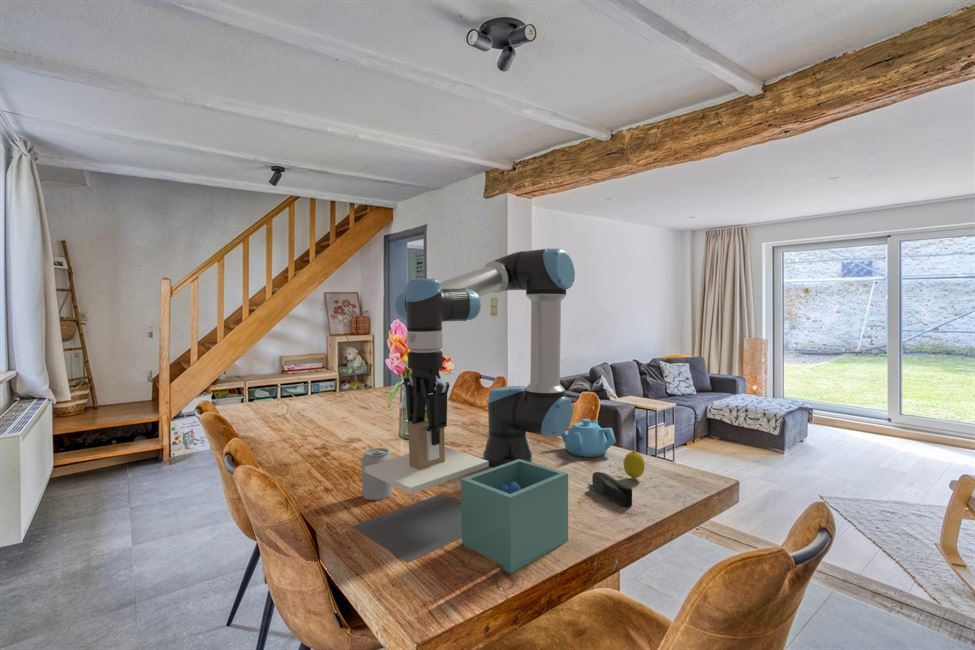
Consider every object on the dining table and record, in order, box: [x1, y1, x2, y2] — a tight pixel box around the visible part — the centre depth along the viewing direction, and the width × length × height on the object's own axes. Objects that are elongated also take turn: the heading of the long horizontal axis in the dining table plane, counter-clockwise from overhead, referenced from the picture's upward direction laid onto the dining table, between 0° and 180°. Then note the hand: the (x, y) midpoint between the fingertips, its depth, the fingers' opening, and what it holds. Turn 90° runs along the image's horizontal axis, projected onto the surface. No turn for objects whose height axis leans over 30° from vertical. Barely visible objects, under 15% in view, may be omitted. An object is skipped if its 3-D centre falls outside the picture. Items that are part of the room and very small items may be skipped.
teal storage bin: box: [460, 459, 569, 575], centre depth 97 cm, size 13×17×14 cm
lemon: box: [623, 450, 646, 480], centre depth 133 cm, size 6×6×8 cm
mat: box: [351, 493, 462, 563], centre depth 106 cm, size 21×25×1 cm
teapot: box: [560, 418, 617, 458], centre depth 158 cm, size 15×15×11 cm
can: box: [361, 447, 393, 501], centre depth 122 cm, size 8×8×12 cm
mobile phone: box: [587, 471, 633, 508], centre depth 121 cm, size 5×3×15 cm
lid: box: [365, 420, 490, 495], centre depth 105 cm, size 17×21×10 cm
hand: (427, 456), depth 105 cm, fingers closed on lid, 3 cm apart
